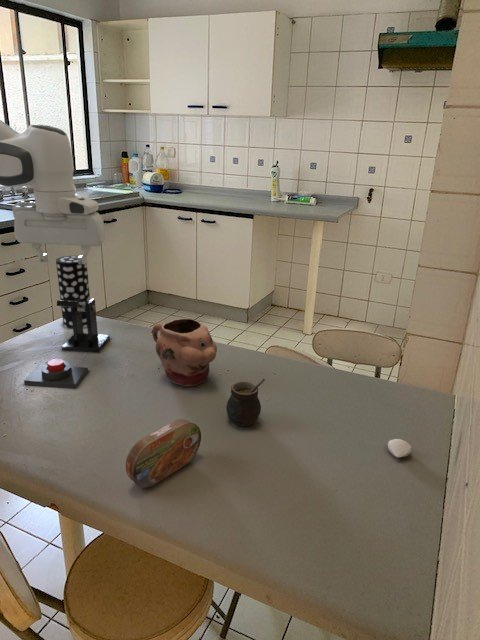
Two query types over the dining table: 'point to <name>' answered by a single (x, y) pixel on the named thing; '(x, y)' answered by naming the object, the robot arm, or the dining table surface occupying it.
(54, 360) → the button
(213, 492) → the dining table surface
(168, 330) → the character head mug
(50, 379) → the button housing
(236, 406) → the mate gourd
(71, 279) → the spotted tube
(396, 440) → the white pebble
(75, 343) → the lever bracket
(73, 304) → the toast lever
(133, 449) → the tin
